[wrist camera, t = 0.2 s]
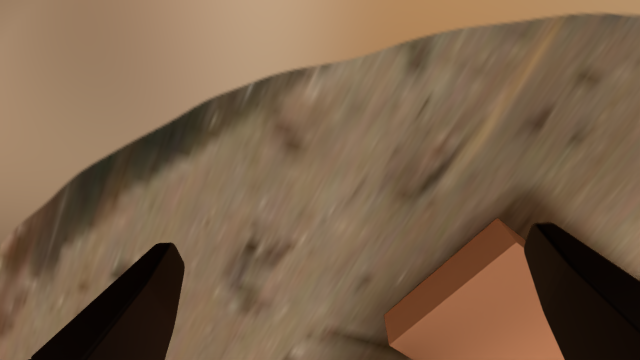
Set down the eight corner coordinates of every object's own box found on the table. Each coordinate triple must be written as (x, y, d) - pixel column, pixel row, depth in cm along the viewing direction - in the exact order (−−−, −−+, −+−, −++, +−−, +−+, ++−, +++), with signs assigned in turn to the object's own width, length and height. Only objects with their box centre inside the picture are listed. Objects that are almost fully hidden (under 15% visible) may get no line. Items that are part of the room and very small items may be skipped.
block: (523, 400, 35) (542, 439, 32) (383, 310, 31) (389, 345, 28) (637, 330, 31) (672, 366, 28) (494, 214, 27) (516, 242, 24)
